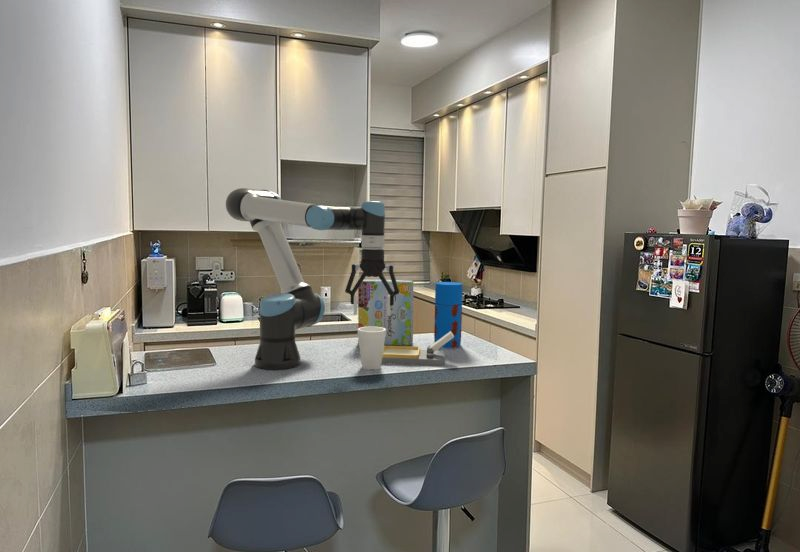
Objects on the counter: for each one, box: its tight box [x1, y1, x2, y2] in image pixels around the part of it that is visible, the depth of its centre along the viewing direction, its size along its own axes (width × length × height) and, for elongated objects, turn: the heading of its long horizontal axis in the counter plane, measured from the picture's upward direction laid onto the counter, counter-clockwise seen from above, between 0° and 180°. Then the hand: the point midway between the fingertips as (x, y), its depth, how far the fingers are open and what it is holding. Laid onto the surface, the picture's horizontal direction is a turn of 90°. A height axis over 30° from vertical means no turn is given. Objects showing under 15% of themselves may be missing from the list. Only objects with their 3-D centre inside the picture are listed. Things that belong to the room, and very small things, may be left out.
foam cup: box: [357, 327, 386, 371], centre depth 181 cm, size 10×9×13 cm
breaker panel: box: [381, 345, 445, 367], centre depth 193 cm, size 26×14×3 cm, turn 86°
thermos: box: [433, 281, 464, 349], centre depth 216 cm, size 11×11×25 cm
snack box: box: [357, 279, 414, 346], centre depth 218 cm, size 22×9×26 cm, turn 82°
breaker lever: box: [426, 331, 454, 354], centre depth 192 cm, size 2×5×11 cm
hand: (372, 314), depth 180 cm, fingers open, 10 cm apart
